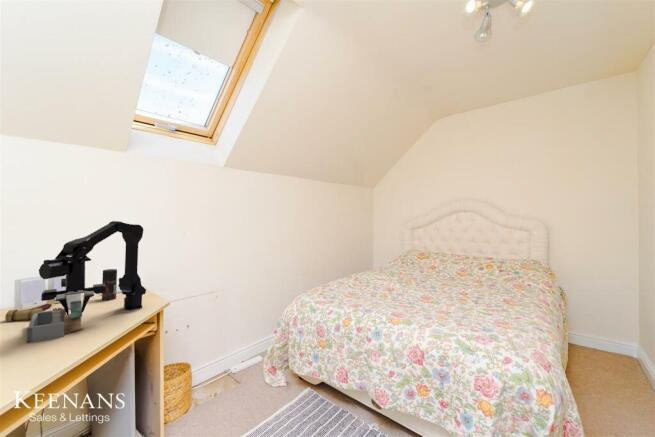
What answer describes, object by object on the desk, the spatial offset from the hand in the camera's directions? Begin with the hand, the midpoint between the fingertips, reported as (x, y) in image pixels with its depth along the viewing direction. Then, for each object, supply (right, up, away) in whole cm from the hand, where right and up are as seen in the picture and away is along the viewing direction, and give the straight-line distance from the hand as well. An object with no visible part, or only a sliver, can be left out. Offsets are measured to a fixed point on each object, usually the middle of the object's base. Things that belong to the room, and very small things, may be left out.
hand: (75, 313), depth 113 cm
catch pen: (-5, -5, -5) cm, 9 cm away
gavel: (-28, -5, +13) cm, 31 cm away
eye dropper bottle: (-20, -5, +21) cm, 29 cm away
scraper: (0, -5, 0) cm, 5 cm away
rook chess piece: (-4, -5, -3) cm, 7 cm away
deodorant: (-14, -5, +37) cm, 40 cm away
